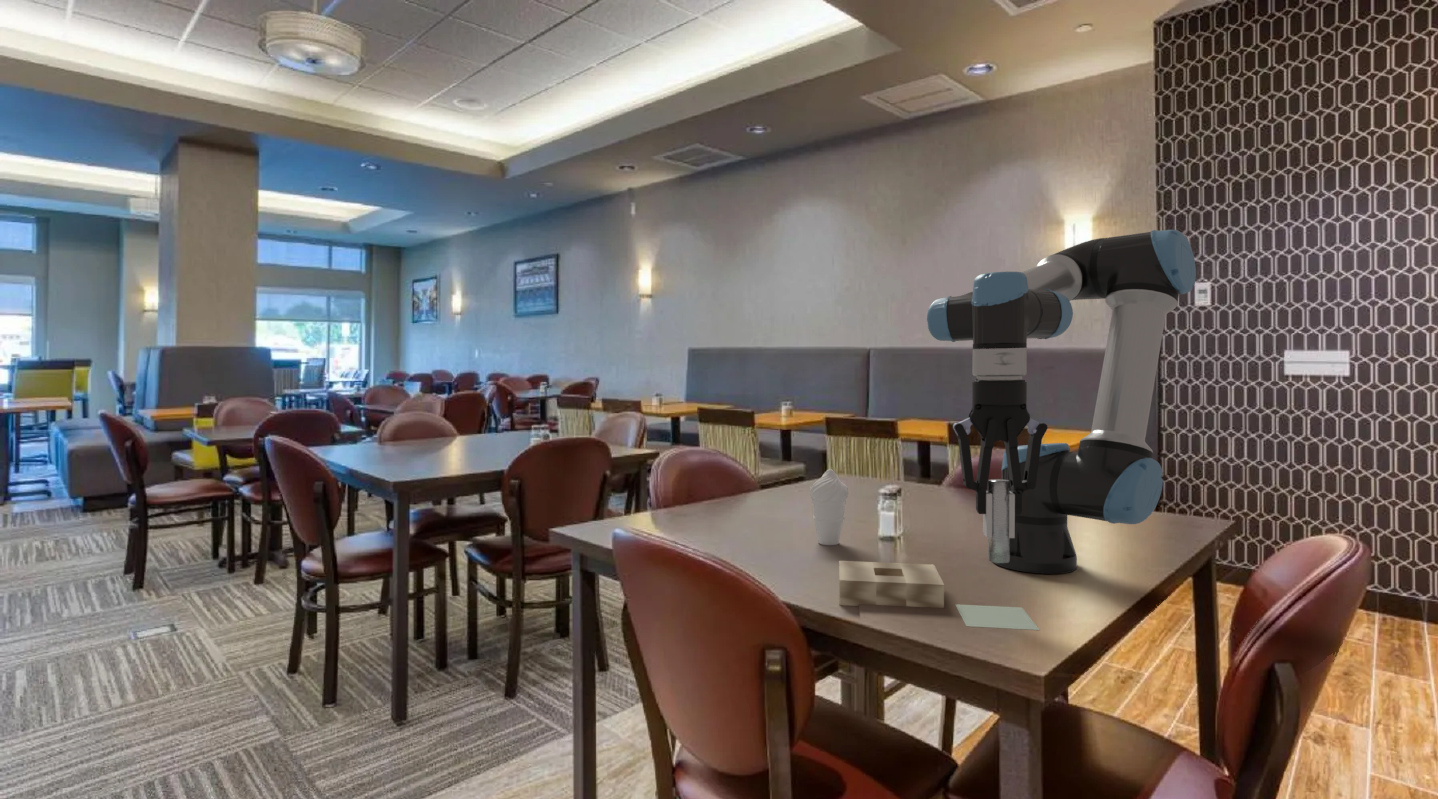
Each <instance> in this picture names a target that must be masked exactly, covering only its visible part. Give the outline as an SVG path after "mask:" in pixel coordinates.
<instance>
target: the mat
mask: <svg viewBox="0 0 1438 799" xmlns="http://www.w3.org/2000/svg"><path fill="white" fill-rule="evenodd" d="M954 605H955V606H956V609H957V611H958V613H959V614H960V617H961V619H962V621H963V622H964V625H965V626H966V628H967V627H973V628H991V629H1008V630H1024V631H1026V630H1027V631H1029V630H1030V631H1040V628H1039V627H1038V626H1037V624H1036V623H1035V622H1034V621H1033V619H1032V618H1031V616H1030V615H1029V614H1028V613H1027V612H1026V611H1025V609H1024V608H1023V607H1019V606H1016V607H1015V606H999V605H978V604H976V605H973V604H958V603H957V604H954Z"/></svg>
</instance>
